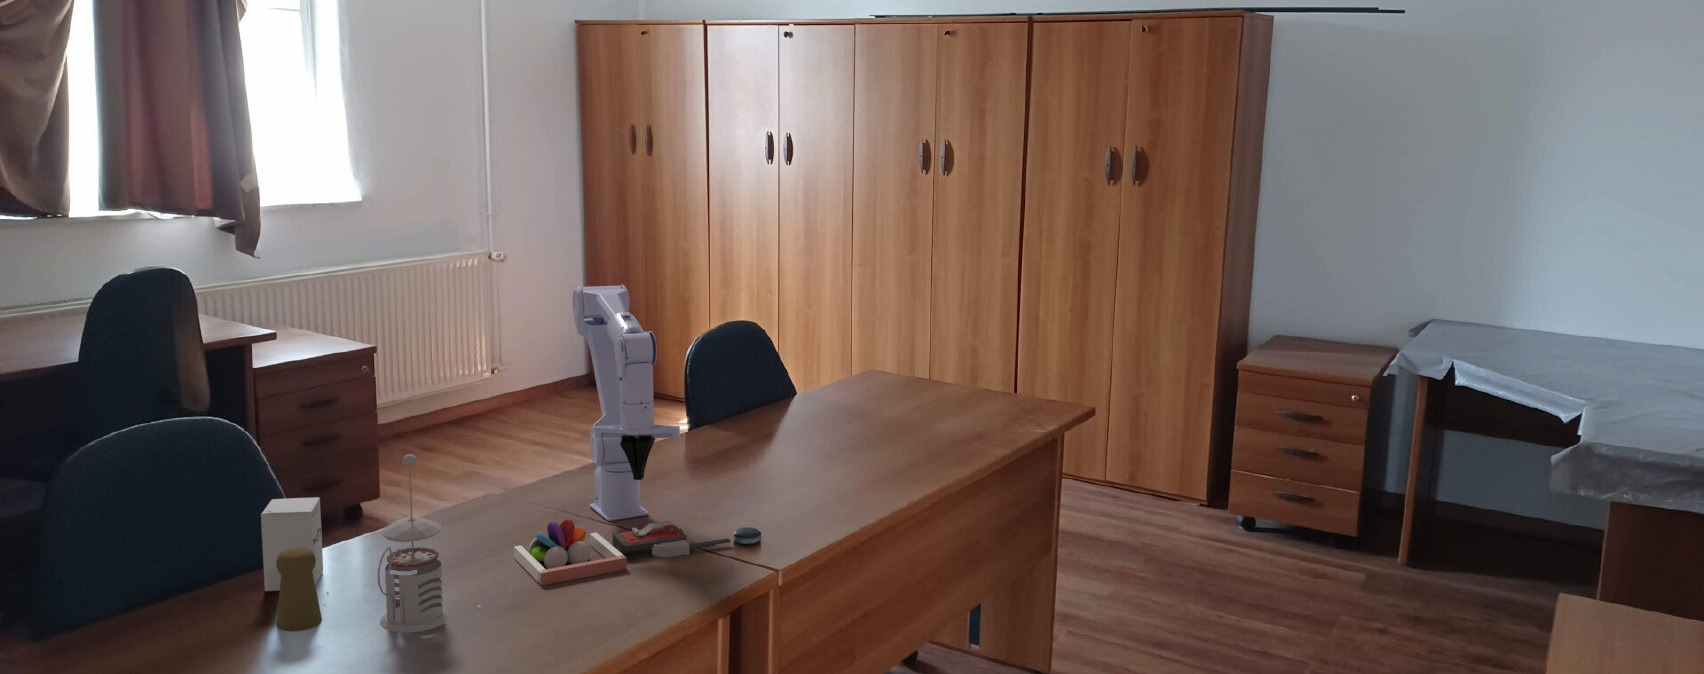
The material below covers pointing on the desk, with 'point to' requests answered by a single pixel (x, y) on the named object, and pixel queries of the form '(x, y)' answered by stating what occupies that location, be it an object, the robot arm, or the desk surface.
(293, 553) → the cork
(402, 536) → the french press
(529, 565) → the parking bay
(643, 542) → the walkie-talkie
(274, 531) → the supplement box
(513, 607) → the desk surface
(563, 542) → the colorful petals pebble cluster
